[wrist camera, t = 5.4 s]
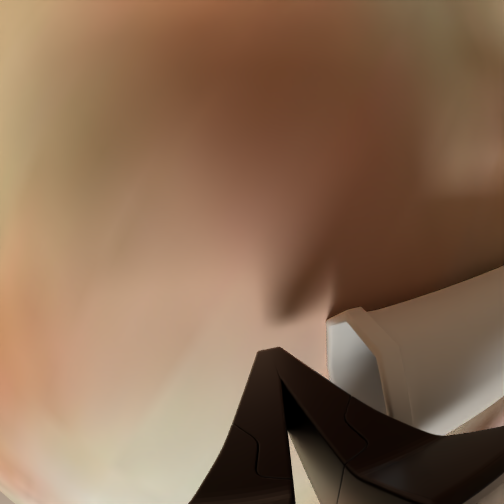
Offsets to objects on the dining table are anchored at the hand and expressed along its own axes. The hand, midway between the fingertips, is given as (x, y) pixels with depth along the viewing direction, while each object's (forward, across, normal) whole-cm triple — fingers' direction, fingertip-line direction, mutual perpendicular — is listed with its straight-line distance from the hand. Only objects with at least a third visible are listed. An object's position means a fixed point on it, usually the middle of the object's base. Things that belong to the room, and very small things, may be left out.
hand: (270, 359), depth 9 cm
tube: (+1, -15, +1) cm, 15 cm away
